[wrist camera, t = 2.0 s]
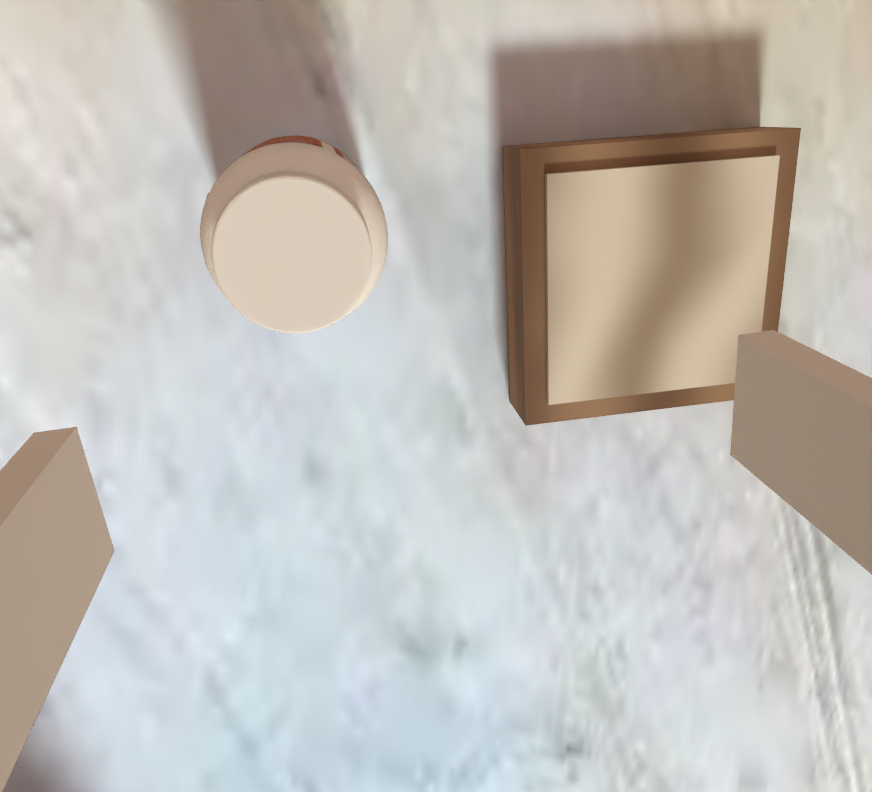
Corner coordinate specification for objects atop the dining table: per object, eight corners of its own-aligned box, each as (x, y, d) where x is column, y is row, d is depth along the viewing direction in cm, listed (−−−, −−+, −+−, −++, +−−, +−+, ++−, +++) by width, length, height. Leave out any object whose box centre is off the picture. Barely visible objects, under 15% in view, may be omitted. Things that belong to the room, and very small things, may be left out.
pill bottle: (206, 251, 32) (153, 317, 21) (251, 109, 30) (218, 108, 20) (342, 301, 33) (353, 385, 23) (392, 170, 32) (429, 198, 21)
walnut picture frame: (509, 401, 36) (527, 427, 33) (502, 146, 32) (522, 149, 29) (737, 374, 38) (774, 397, 35) (760, 126, 33) (805, 128, 30)
